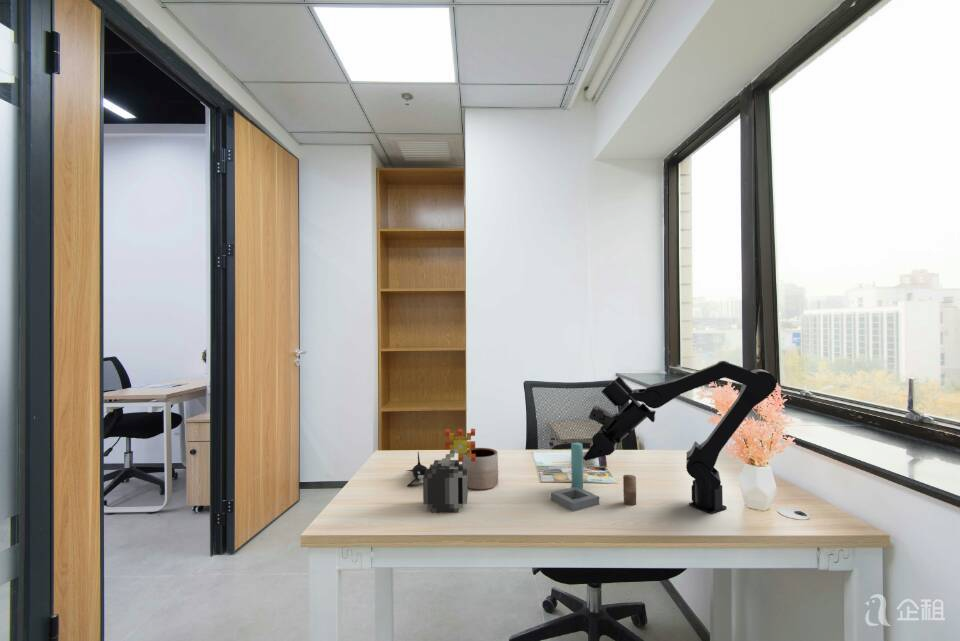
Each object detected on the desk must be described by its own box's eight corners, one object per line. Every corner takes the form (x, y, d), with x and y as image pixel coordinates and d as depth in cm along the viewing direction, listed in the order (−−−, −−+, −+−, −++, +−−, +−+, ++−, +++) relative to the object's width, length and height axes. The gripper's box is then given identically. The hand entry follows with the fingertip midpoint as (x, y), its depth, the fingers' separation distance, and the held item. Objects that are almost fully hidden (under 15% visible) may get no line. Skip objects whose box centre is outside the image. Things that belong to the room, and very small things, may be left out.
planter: (489, 493, 130) (489, 459, 130) (455, 487, 134) (455, 455, 134) (503, 481, 140) (503, 449, 140) (471, 476, 144) (471, 446, 144)
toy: (442, 484, 134) (440, 449, 136) (409, 488, 131) (407, 452, 133) (427, 479, 153) (425, 449, 156) (397, 483, 150) (396, 451, 152)
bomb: (426, 501, 124) (425, 427, 124) (475, 500, 124) (475, 426, 124) (423, 513, 116) (422, 434, 116) (475, 512, 116) (475, 433, 116)
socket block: (599, 504, 121) (599, 496, 121) (572, 511, 116) (572, 503, 116) (576, 493, 128) (576, 486, 128) (550, 499, 124) (550, 492, 124)
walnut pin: (639, 504, 120) (638, 477, 121) (630, 506, 119) (629, 479, 119) (629, 500, 123) (629, 474, 123) (621, 502, 122) (620, 476, 122)
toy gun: (598, 471, 167) (596, 443, 171) (608, 467, 148) (605, 435, 152) (591, 471, 168) (589, 443, 171) (600, 466, 148) (598, 435, 152)
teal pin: (585, 490, 131) (584, 444, 131) (576, 492, 130) (576, 446, 130) (577, 486, 134) (577, 442, 134) (569, 488, 132) (568, 443, 133)
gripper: (611, 392, 137) (575, 426, 142) (600, 402, 120) (559, 440, 125) (639, 421, 134) (601, 455, 138) (632, 435, 117) (588, 473, 121)
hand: (587, 454), depth 131 cm, fingers open, 9 cm apart
